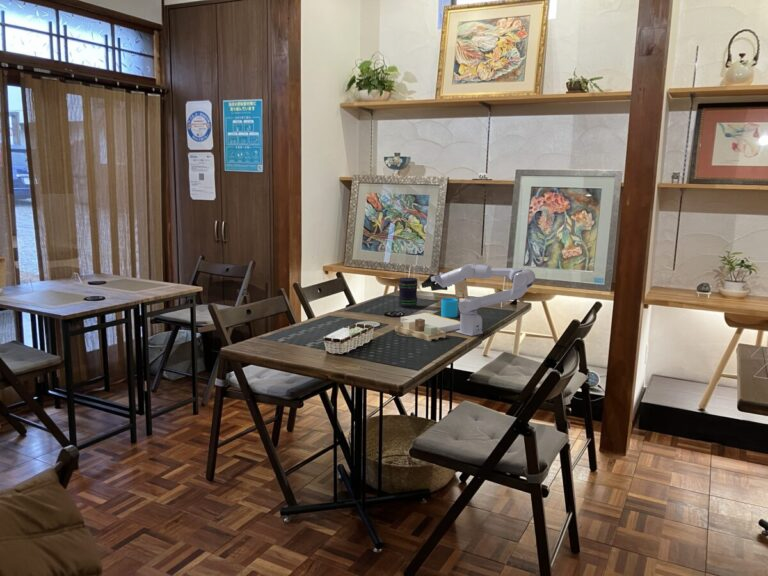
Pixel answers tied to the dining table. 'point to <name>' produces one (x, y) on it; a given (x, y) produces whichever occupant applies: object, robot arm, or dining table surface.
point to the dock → (435, 321)
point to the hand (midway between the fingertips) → (426, 287)
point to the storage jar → (408, 293)
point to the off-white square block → (409, 324)
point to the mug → (449, 307)
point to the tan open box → (419, 331)
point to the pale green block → (430, 330)
